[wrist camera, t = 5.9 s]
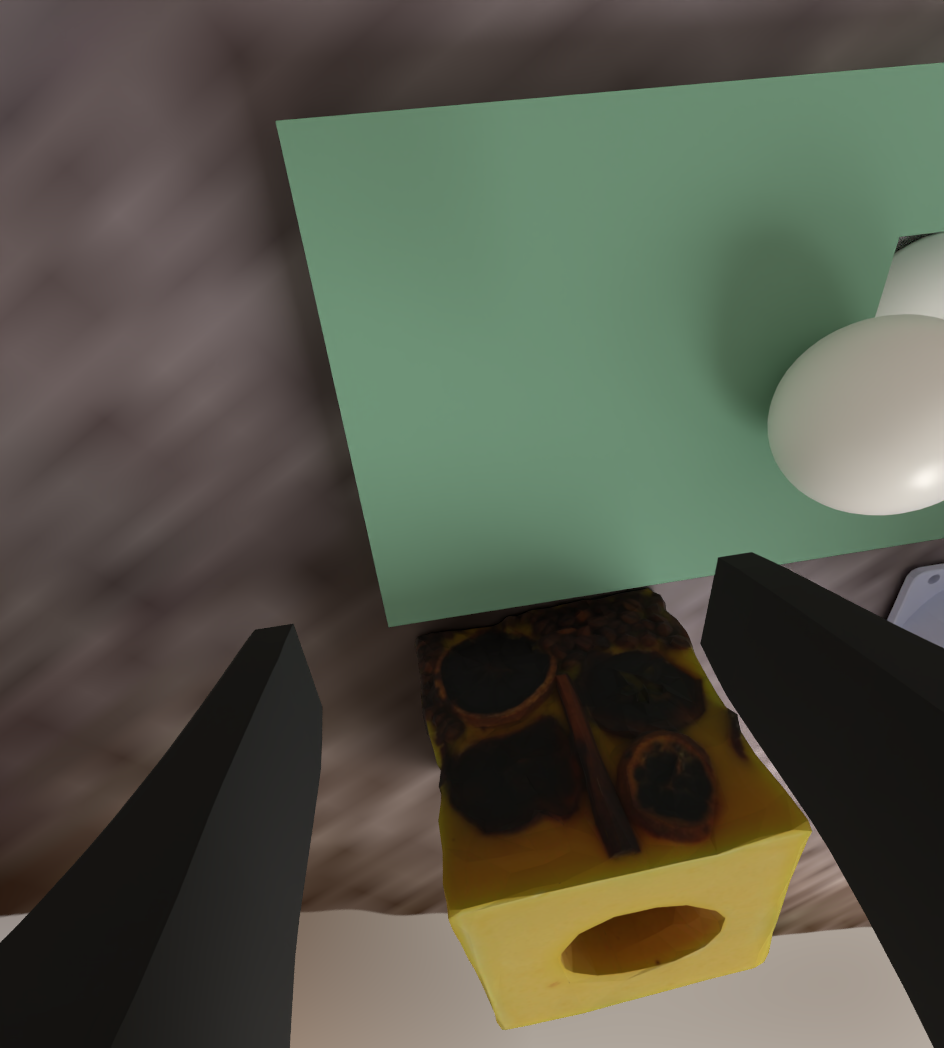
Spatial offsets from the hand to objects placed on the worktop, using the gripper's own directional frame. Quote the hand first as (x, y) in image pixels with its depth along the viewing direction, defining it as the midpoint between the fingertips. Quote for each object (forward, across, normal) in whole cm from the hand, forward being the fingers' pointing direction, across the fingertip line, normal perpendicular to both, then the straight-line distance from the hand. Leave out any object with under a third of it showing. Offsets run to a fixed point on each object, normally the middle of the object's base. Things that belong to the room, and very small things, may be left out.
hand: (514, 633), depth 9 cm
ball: (+5, -11, -1) cm, 12 cm away
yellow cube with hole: (+10, -3, +13) cm, 17 cm away
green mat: (+9, -9, -1) cm, 13 cm away
